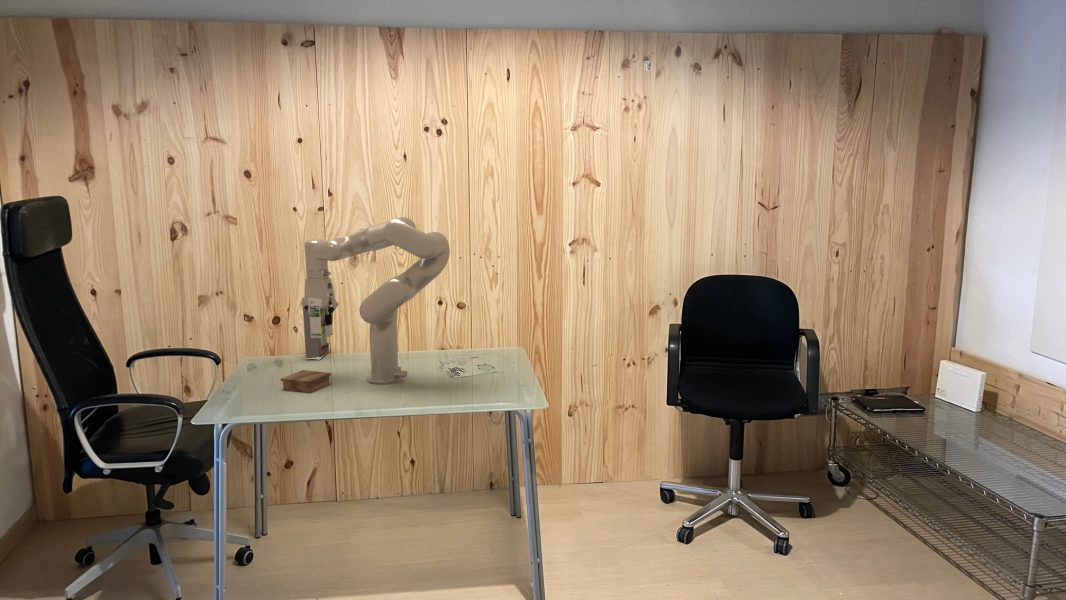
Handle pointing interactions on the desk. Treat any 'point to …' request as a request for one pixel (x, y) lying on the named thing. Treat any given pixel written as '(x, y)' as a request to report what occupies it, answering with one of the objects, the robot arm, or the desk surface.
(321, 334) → the syrup box
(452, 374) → the office telephone
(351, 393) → the desk surface
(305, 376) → the walnut stand
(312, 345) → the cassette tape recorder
